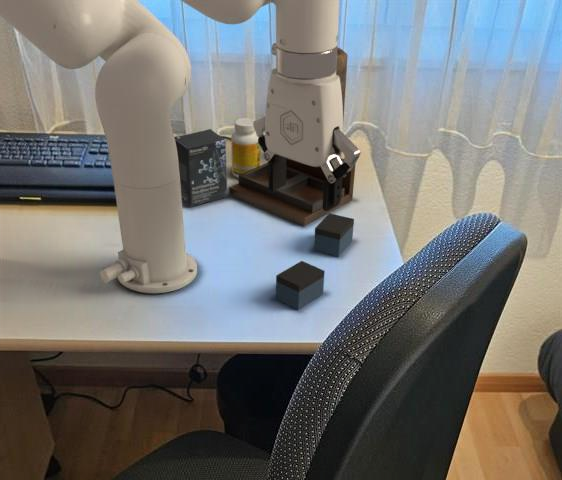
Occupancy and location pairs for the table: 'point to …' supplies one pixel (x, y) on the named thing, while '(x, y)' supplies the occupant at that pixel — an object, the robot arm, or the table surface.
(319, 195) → the brown wooden organizer
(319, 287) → the dark grey block
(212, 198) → the box
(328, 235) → the blue lidded block
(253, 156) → the supplement bottle
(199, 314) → the table surface
